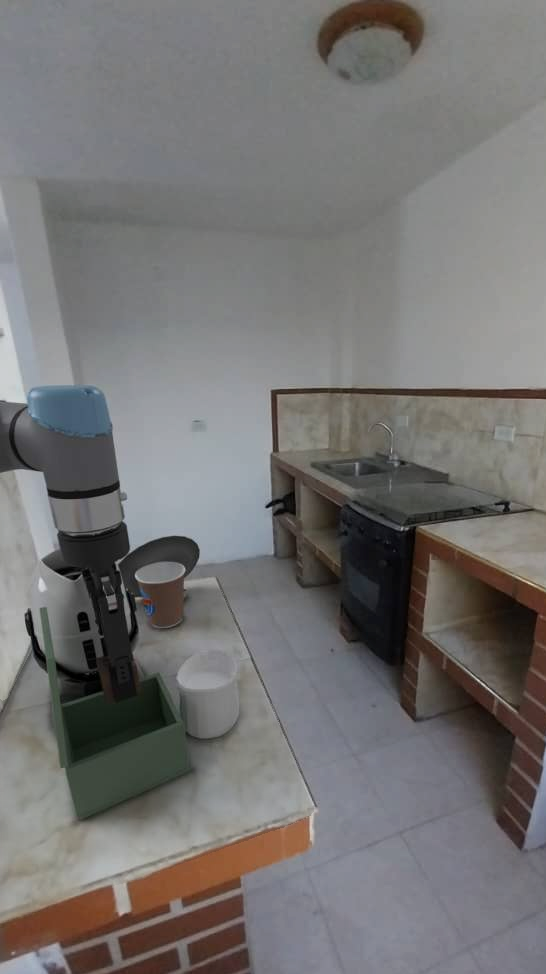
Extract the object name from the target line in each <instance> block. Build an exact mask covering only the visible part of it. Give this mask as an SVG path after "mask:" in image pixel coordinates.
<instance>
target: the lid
mask: <svg viewBox="0 0 546 974" xmlns="http://www.w3.org/2000/svg"><path fill="white" fill-rule="evenodd" d="M40 616H41V624H42V632H43V639H44V647H45V655H46V662H47V670H48V674H47V677H48V685H49V693H50V700H51V709H52V708H53V712H52V717H53V716H54V721H53V724H54V723H55V725H54V729H55V737H56V744H57V752H58V759H59V760H58V761H59V764H60V765H59V766H60V769H65V767H68V761H67V753H66V745H65V737H64V729H63V721H62V712H61V704H60V696H59V688H58V680H57V672H56V664H55V656H54V650H53V644H52V638H51V632H50V626H49V620H48V613H47V608H46V607H43V608H40Z"/></svg>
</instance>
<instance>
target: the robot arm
mask: <svg viewBox="0 0 546 974" xmlns="http://www.w3.org/2000/svg"><path fill="white" fill-rule="evenodd" d="M26 400H27V403H25V402H12V401H6V400H3V399H0V474H2V473H6V472H11V471H15V470H24V471H33V472H41V473H42V474H43V479H44V482H45V487H46V493H47V498H48V503H49V504H48V505H49V508H50V509H49V510H50V512H51V517H52V522H53V525H54V528H55V529H56V530H57V533H56V537H57V542H58V547H59V549H60V551H61V556H62V559H63V561H64V562H65V563H66V564H68V565H70V566H74V567H80V568H82V567H85V569H82V570H81V571H82V577H83V580H84V583H85V585H86V588H87V591H88V595H89V598H90V599H91V601H92V606H93V609H94V613H95V618H96V619H95V623H96V624H97V626H98V628H99V629H98V633H99V634H100V636H103V635H104V637H103V638H100V641H101V646H102V651H103V656H106V655H108V657H107V658H105V659H102V663H103V666H105V665H108V668H109V673H110V678H111V683H112V688H113V693H114V698H115V702H116V703H117V702H120V701H123V700H126V699H129V698H132V697H134V696H137V691H136V685H135V680H134V674H133V668H132V662H131V661H133V658H134V653H133V654H132V651H131V645H130V639H129V633H128V627H127V621H126V615H125V609H124V600H123V599H124V594H123V593H122V590H121V584H122V579H121V574H120V571H119V570H118V571H117V567H116V564H115V562H116V563H117V562H118V561H121V560H123V559H124V558H125V557H126V556H127V555H128V554H129V553H130V552H131V545H130V537H129V531H128V525H127V523H126V522H125V521H124V520H125V517H126V515H125V509H124V505H123V503H122V502H124V501H126V500H128V494H127V493H126V492H124V491H121V482H120V475H119V469H118V463H117V462H118V461H117V456H116V449H115V448H116V447H115V441H114V433H113V430H114V427H113V426H114V425H113V422H112V421H111V417H110V412H109V408H108V404H107V399H106V396H105V393H104V392H103V391H102V390H101V389H100V388H99V387H97V386H94V385H89V384H88V385H87V384H83V385H82V384H78V385H76V384H75V385H74V384H73V385H72V384H63V385H62V384H59V385H58V384H57V385H41V386H40V385H39V386H34V387H31V388H30V389H29V390H28V391H27V393H26ZM58 530H59V532H58Z"/></svg>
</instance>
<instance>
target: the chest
mask: <svg viewBox="0 0 546 974" xmlns="http://www.w3.org/2000/svg"><path fill="white" fill-rule="evenodd" d="M139 682H140V689H141V692H140V693H137V696H134V697H132V698H129V699H126V700H123V701H120V702H117V703H116V702H115V701H113V702H111V703H108V704H106V701H105V697H104V694H103V691H101V692H98V693H95V694H92V695H89V696H86V697H83V698H80V699H77V700H74V701H71V702H68V703H65V704H62V705H61V712H62V721H63V729H64V737H65V745H66V753H67V761H68V767H65V768H64V771H65V775H66V779H67V782H68V787H69V790H70V794H71V798H72V801H73V806H74V809H75V812H76V816H77V817H76V818H77V821H82V820H84V819H87V818H89V817H91V816H93V815H95V814H97V813H100V812H102V811H105V810H107V809H108V808H109V809H110V808H111V807H113V806H116V805H117V804H120V803H122V802H125V801H127V800H129V799H131V798H133V797H135V796H137V795H140V794H142V793H144V792H146V791H149V790H152V789H153V788H156V787H158V786H160V785H162V784H165V783H167V782H170V781H171V780H174V779H175V778H177V777H180V776H182V775H184V774H187V773H189V772H191V767H190V760H189V752H188V744H187V743H188V742H187V736H186V731H185V727H184V723H183V721H182V718H181V716H180V711H179V709H178V708H177V706H176V704H175V702H174V699H173V698H172V695H171V693H170V691H169V689H168V687H167V685H166V683H165V681H164V679H163V677H162V675H161V673H160V672H157V673H153V674H150V675H146V676H144V678H141V679H139Z"/></svg>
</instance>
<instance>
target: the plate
mask: <svg viewBox="0 0 546 974" xmlns="http://www.w3.org/2000/svg"><path fill="white" fill-rule="evenodd" d="M198 544H199V543H197V542H196V541H195V540H194V539H193V538H190V537H187V536H184V535H169V536H161V537H158V538H154V539H152V540H149V541H147V542H145V543H143V544H141V545H139V546H137V547H136V548H134V549H133V550H132V551H129V553H128V554H127V555H126V556H125V557H124V558H122V559H121V560H120V562H118V563H117V564H118V566H119V569H120V572H121V576H122V580H123V584H124V588H125V590H127V587H129V589H130V590H132V591H133V593H134V597H135V598H142V595H141V592H140V588H139V584H138V581H137V579H136V578H135V573H136V572H137V570H139V569H140V568H141V567H143V566H146V565H150V564H154V563H157V562H176V563H179V564H182V565H183V566H184V567H185V573H184V579H185V578H187V576H189V575H190V574H191V573H192V572H193V570H194V569H195V567H196V566H197V564H198V562H199V560H200V553H201V550H200V547H199V545H198Z"/></svg>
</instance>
